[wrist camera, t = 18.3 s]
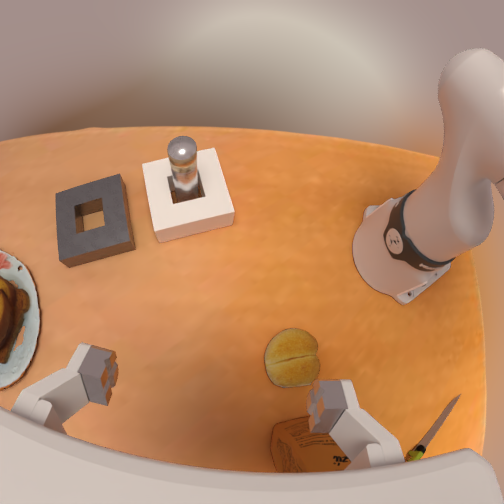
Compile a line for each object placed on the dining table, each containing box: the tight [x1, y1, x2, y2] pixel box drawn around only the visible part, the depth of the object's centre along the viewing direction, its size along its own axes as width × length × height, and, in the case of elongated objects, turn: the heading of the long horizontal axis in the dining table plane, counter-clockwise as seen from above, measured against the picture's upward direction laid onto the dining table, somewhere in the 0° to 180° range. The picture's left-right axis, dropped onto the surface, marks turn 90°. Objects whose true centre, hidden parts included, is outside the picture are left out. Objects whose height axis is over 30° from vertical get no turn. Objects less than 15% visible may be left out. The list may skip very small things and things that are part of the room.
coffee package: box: [271, 416, 351, 473], centre depth 31 cm, size 10×12×22 cm
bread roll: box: [264, 328, 320, 388], centre depth 44 cm, size 8×9×4 cm
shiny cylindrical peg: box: [168, 136, 199, 203], centre depth 44 cm, size 4×4×15 cm
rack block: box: [142, 148, 235, 243], centre depth 49 cm, size 12×12×5 cm
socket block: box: [56, 174, 135, 268], centre depth 46 cm, size 12×12×4 cm
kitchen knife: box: [407, 394, 461, 462], centre depth 42 cm, size 22×1×3 cm, turn 131°
